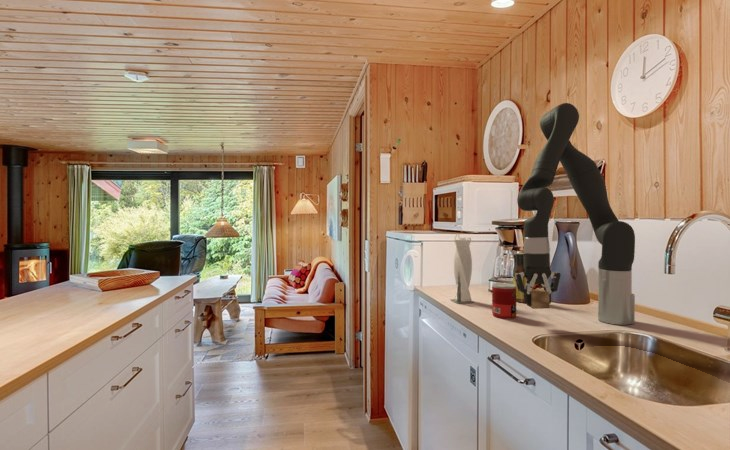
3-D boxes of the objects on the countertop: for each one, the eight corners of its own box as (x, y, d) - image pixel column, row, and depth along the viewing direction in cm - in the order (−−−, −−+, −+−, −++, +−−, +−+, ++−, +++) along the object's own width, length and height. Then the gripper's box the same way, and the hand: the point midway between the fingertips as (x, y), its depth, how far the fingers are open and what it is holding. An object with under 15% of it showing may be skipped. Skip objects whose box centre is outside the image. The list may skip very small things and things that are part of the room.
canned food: (516, 319, 130) (516, 287, 130) (492, 318, 133) (491, 286, 133) (515, 314, 138) (515, 283, 137) (492, 312, 140) (492, 282, 140)
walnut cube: (542, 304, 124) (542, 289, 124) (549, 308, 119) (549, 292, 119) (526, 305, 124) (526, 289, 124) (533, 308, 119) (532, 292, 119)
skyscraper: (448, 299, 163) (448, 233, 162) (466, 298, 165) (465, 233, 164) (458, 303, 155) (458, 234, 154) (476, 302, 157) (476, 234, 156)
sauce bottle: (527, 299, 161) (527, 252, 161) (532, 303, 155) (532, 253, 154) (510, 299, 162) (510, 252, 161) (515, 303, 156) (515, 253, 155)
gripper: (553, 250, 125) (555, 302, 125) (509, 251, 125) (510, 303, 126) (565, 251, 118) (566, 307, 118) (518, 253, 118) (519, 308, 118)
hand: (537, 305), depth 122 cm, fingers closed on walnut cube, 5 cm apart
